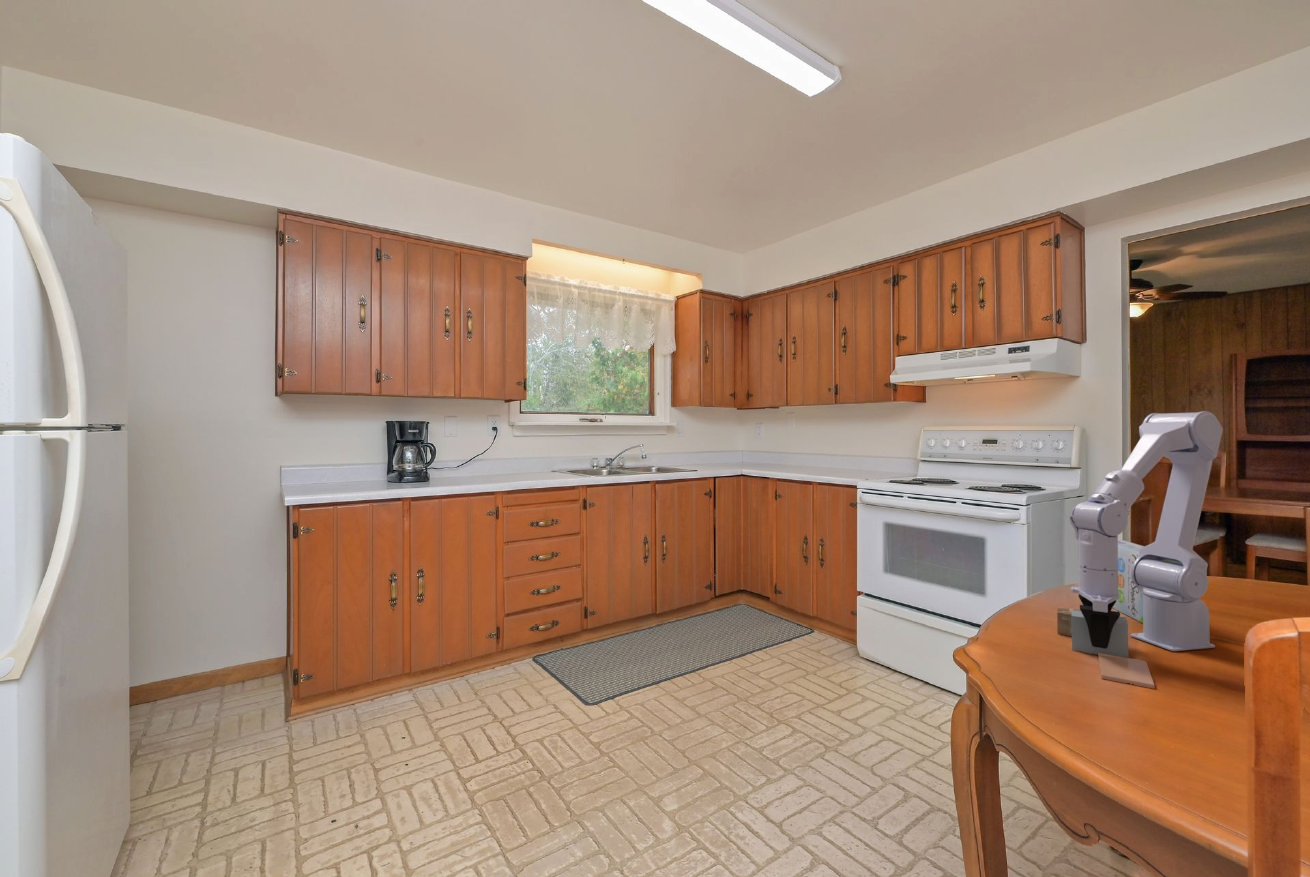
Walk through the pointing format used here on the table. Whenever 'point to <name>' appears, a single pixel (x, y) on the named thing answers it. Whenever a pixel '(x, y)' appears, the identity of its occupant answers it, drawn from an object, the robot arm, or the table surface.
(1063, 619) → the letter block
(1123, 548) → the snack box
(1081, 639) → the gray block
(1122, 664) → the terracotta tile
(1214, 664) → the table surface
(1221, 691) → the table surface
